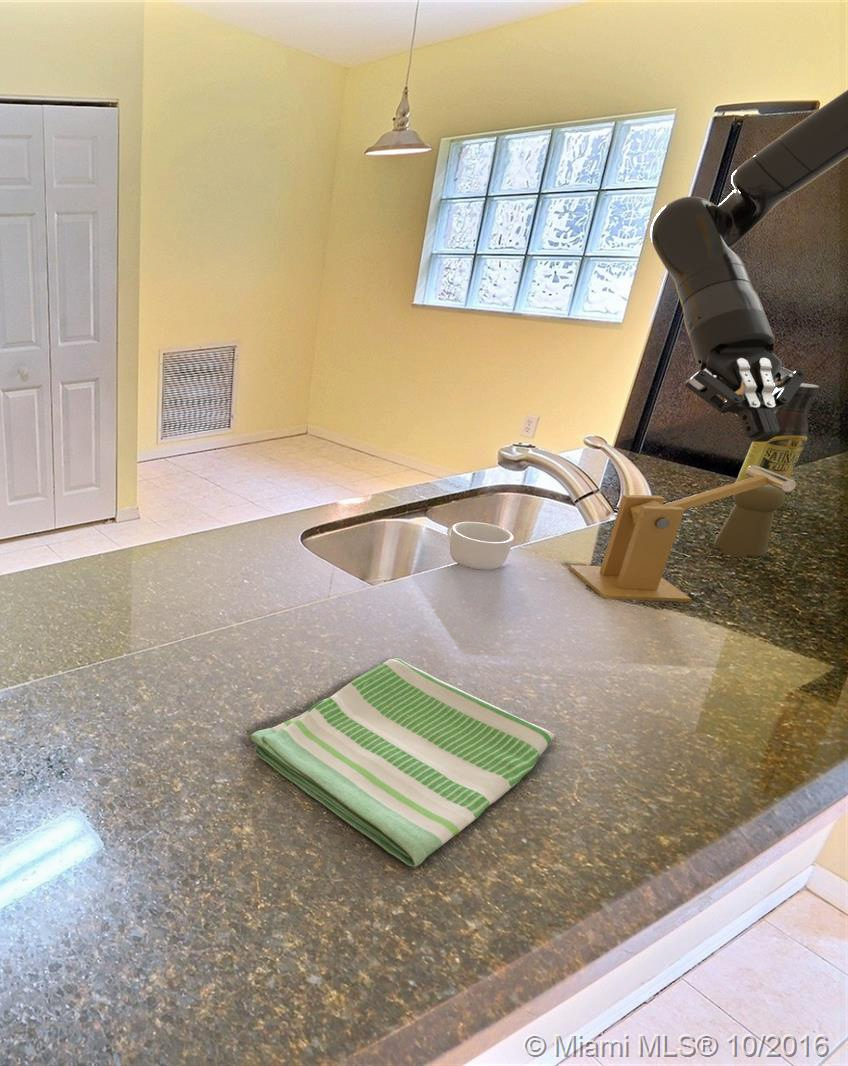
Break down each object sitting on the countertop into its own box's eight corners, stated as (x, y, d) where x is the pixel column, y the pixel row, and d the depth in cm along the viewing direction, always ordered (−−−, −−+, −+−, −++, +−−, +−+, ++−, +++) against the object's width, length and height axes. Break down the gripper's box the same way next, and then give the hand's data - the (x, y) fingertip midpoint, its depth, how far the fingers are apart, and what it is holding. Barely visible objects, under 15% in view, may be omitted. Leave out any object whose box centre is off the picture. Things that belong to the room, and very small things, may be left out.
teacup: (518, 573, 101) (527, 539, 99) (472, 580, 99) (480, 546, 97) (465, 546, 110) (472, 514, 108) (423, 552, 108) (429, 520, 106)
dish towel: (242, 749, 69) (244, 727, 68) (386, 669, 80) (390, 649, 79) (413, 875, 55) (419, 849, 54) (559, 757, 66) (566, 734, 65)
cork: (711, 544, 107) (736, 475, 103) (765, 555, 103) (794, 484, 99) (706, 556, 103) (732, 486, 99) (763, 568, 99) (792, 495, 95)
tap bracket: (645, 576, 98) (674, 490, 93) (688, 608, 90) (722, 515, 85) (567, 573, 100) (591, 489, 95) (601, 604, 92) (629, 513, 87)
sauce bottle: (747, 503, 121) (791, 388, 113) (722, 491, 127) (762, 380, 119) (791, 504, 120) (839, 388, 112) (764, 491, 126) (807, 380, 118)
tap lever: (760, 476, 90) (757, 459, 89) (797, 492, 84) (795, 474, 84) (625, 517, 94) (621, 502, 94) (652, 535, 89) (648, 519, 88)
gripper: (690, 307, 91) (729, 423, 85) (806, 305, 90) (854, 423, 83) (652, 343, 98) (684, 453, 92) (758, 341, 97) (799, 453, 90)
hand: (765, 438), depth 88 cm, fingers closed
